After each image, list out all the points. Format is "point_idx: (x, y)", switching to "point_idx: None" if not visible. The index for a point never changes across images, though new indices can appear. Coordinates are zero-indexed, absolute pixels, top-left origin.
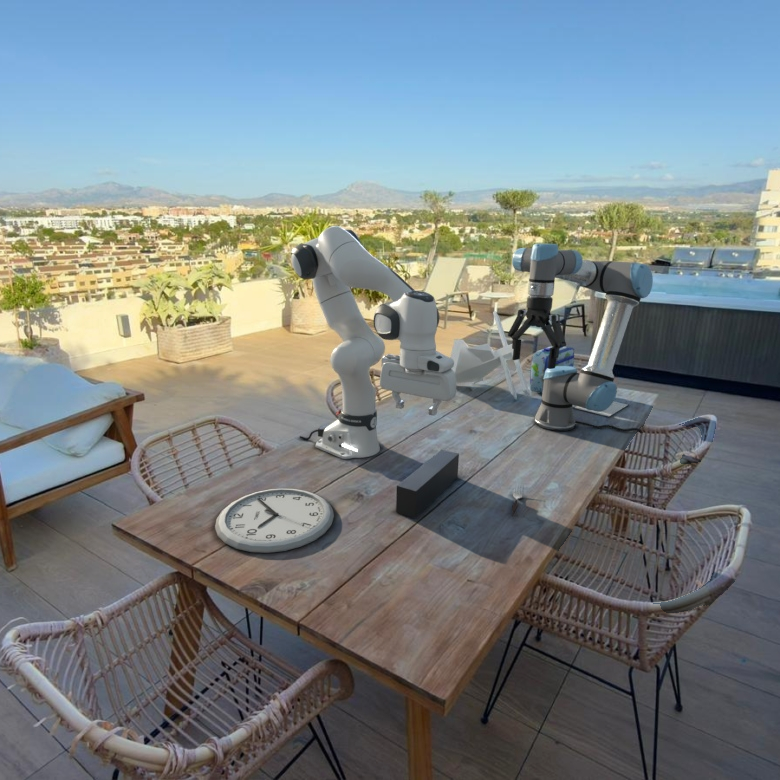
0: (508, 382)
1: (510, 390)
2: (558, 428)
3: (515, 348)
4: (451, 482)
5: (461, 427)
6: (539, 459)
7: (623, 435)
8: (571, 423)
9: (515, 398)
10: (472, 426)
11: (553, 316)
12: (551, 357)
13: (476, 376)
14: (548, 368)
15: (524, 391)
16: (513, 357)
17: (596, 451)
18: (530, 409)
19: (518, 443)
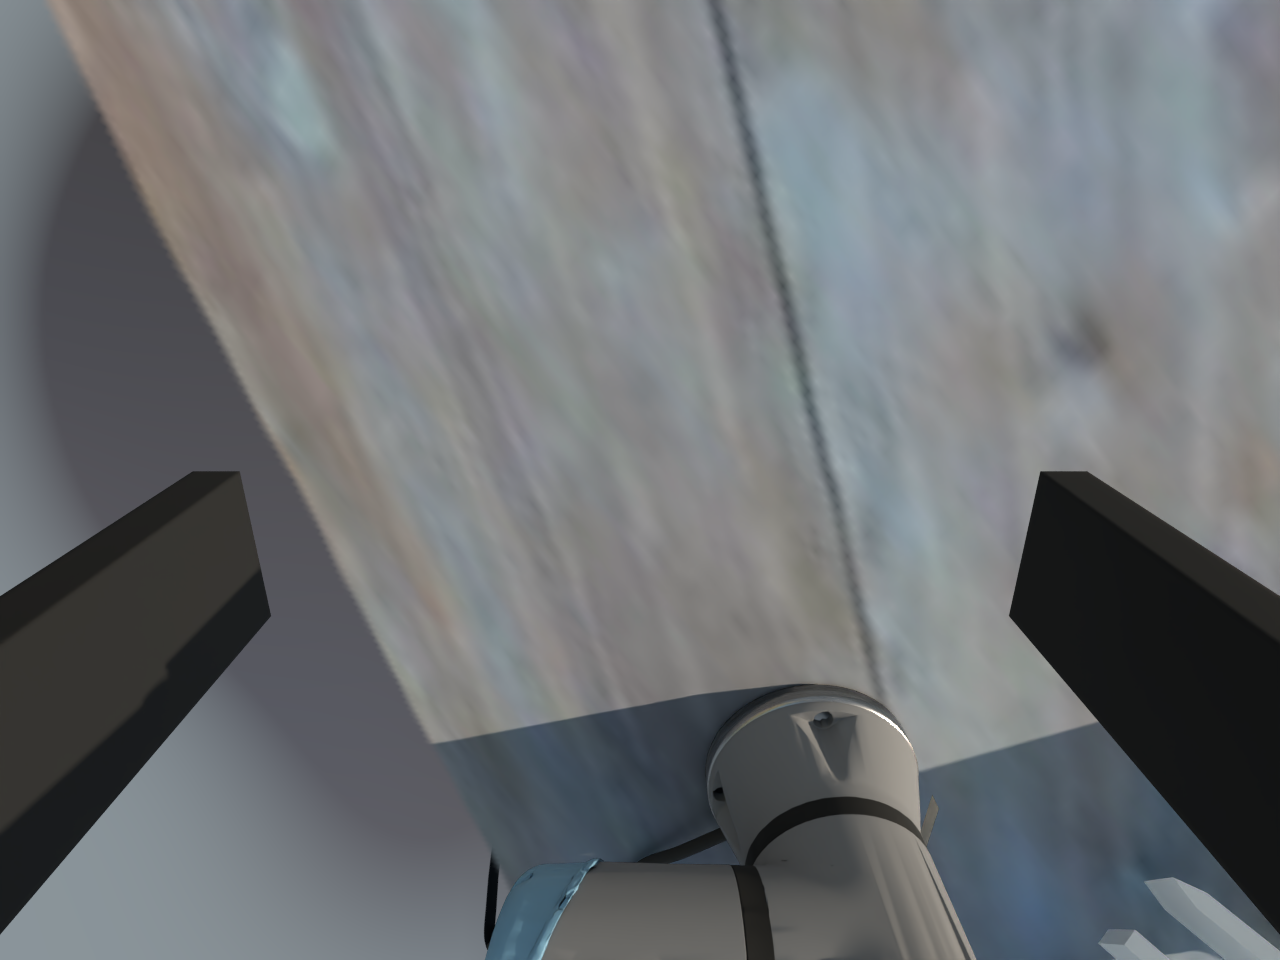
0: (1268, 951)
1: (1208, 901)
2: (740, 719)
3: (1214, 603)
4: None
5: (1178, 336)
6: (568, 339)
7: (518, 876)
8: (711, 792)
9: (1151, 881)
10: (1130, 405)
11: None
12: (16, 598)
13: None
14: (222, 475)
15: (1128, 933)
16: (1097, 492)
17: (469, 648)
18: (1011, 833)
19: (780, 423)
